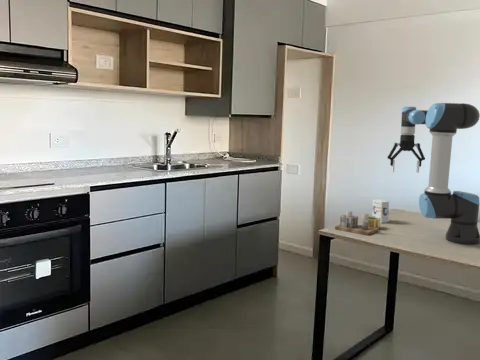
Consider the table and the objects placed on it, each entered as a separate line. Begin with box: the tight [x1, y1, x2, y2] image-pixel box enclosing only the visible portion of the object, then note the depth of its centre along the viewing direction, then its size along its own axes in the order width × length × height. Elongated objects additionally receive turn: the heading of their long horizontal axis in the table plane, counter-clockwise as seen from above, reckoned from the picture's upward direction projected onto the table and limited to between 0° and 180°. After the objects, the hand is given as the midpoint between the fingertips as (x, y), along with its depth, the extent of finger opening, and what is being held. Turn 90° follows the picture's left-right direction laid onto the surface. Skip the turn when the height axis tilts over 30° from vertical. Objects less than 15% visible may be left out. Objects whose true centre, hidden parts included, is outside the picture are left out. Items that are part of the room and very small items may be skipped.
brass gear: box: [368, 216, 381, 230], centre depth 260 cm, size 8×8×5 cm
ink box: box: [371, 198, 390, 224], centre depth 276 cm, size 9×5×12 cm, turn 21°
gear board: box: [334, 210, 379, 236], centre depth 254 cm, size 18×12×9 cm, turn 50°
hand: (405, 172), depth 281 cm, fingers open, 13 cm apart
